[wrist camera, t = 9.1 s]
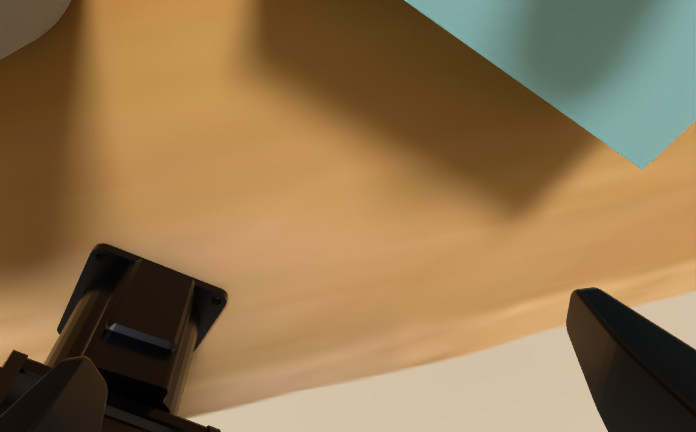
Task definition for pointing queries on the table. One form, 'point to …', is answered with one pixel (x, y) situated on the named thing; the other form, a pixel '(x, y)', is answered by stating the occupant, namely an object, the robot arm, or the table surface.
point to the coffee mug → (27, 21)
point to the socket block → (591, 61)
